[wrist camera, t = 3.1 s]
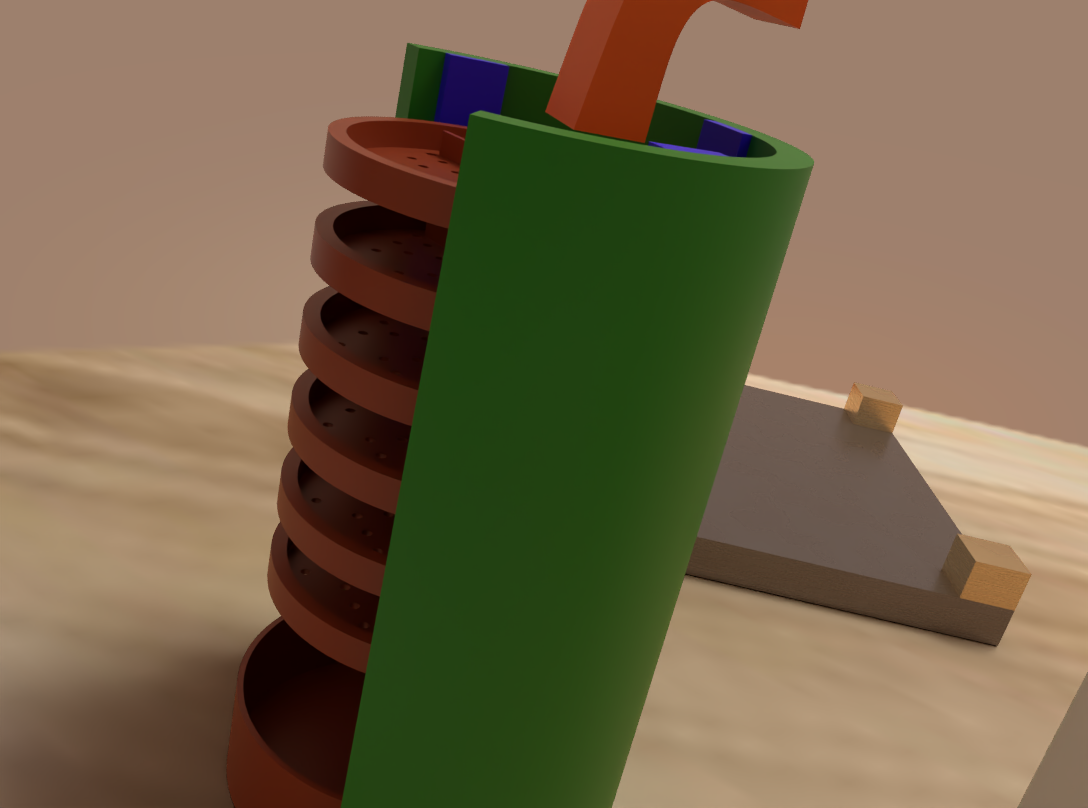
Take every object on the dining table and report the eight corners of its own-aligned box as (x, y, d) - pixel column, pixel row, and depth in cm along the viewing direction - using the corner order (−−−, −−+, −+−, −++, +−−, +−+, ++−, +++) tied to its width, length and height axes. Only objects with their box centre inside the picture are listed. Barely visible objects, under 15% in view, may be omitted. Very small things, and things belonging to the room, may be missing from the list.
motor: (189, 649, 26) (301, -231, 19) (499, 620, 31) (686, -103, 24) (283, 1000, 18) (537, -285, 11) (685, 893, 23) (1054, -77, 16)
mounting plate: (502, 531, 36) (522, 454, 35) (532, 363, 53) (546, 308, 52) (997, 645, 37) (1031, 574, 35) (871, 444, 53) (891, 391, 52)
